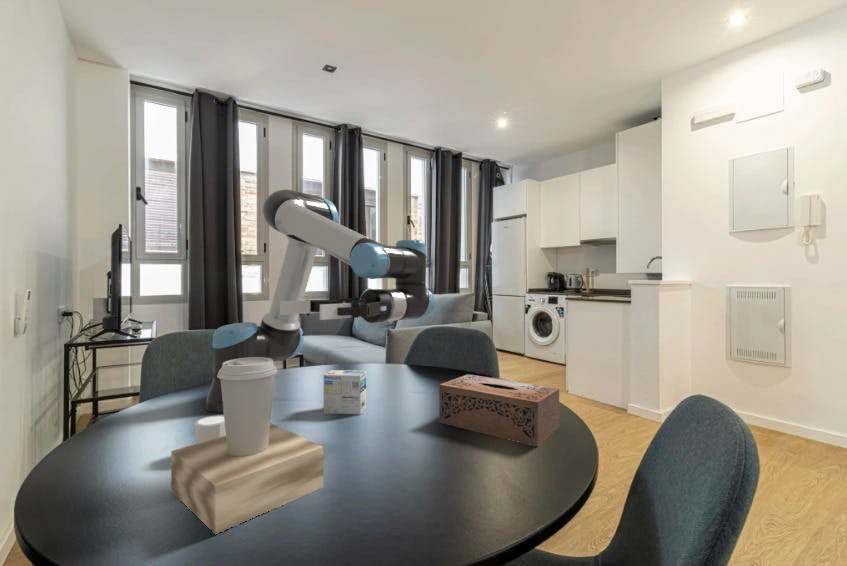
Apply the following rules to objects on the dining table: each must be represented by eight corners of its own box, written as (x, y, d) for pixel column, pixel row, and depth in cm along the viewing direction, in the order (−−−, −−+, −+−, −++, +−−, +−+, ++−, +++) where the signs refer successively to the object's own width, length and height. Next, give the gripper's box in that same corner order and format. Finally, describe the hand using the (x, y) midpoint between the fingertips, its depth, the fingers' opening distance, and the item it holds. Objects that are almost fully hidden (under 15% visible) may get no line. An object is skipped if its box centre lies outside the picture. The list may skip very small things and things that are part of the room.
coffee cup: (219, 442, 72) (219, 358, 72) (276, 434, 76) (276, 355, 76) (214, 464, 63) (214, 369, 63) (278, 455, 67) (279, 364, 67)
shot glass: (193, 463, 80) (193, 427, 80) (194, 450, 86) (194, 417, 86) (231, 456, 83) (231, 422, 83) (230, 444, 89) (230, 412, 89)
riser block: (171, 492, 69) (171, 450, 69) (271, 457, 82) (271, 423, 82) (215, 535, 57) (215, 485, 57) (323, 487, 70) (323, 446, 70)
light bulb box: (367, 407, 115) (367, 369, 115) (361, 415, 109) (361, 375, 109) (330, 406, 116) (330, 369, 116) (322, 414, 110) (322, 374, 110)
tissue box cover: (559, 429, 99) (559, 388, 99) (537, 448, 88) (537, 402, 88) (467, 409, 115) (467, 374, 115) (439, 423, 103) (439, 384, 103)
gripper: (422, 326, 85) (340, 336, 69) (347, 318, 101) (266, 324, 85) (423, 290, 85) (340, 292, 69) (347, 288, 101) (267, 288, 85)
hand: (299, 310), depth 77 cm, fingers open, 13 cm apart
